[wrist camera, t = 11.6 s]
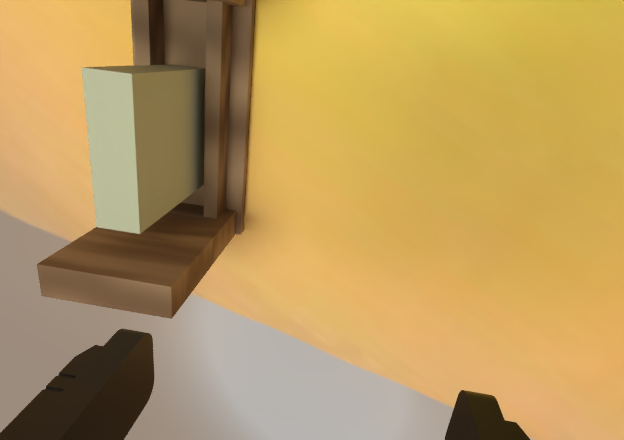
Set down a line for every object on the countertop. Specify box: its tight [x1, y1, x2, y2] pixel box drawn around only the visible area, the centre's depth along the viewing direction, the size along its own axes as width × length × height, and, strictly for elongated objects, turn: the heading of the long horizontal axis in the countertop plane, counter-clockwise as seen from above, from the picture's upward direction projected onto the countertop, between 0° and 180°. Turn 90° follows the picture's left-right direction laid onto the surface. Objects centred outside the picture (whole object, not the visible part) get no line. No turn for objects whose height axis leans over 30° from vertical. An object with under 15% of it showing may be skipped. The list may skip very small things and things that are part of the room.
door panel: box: [82, 64, 206, 234], centre depth 31 cm, size 10×4×12 cm, turn 174°
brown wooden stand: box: [37, 0, 256, 318], centre depth 30 cm, size 22×10×15 cm, turn 174°
